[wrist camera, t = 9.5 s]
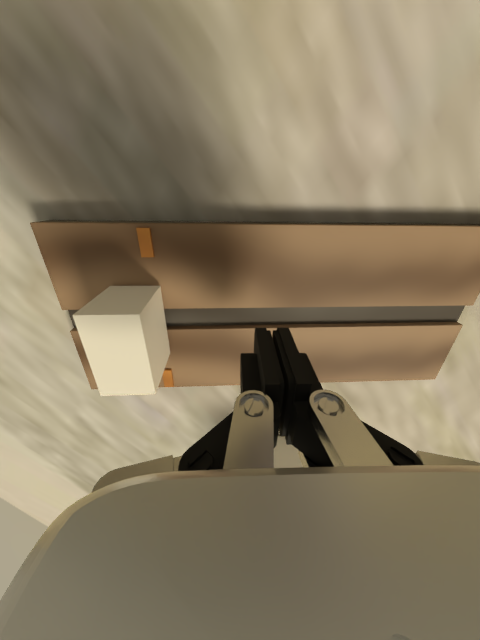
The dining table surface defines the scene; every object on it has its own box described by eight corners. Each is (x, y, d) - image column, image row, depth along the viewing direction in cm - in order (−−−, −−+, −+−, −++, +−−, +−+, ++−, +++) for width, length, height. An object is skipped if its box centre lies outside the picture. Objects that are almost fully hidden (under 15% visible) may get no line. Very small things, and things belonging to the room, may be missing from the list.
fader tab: (113, 283, 15) (72, 315, 11) (162, 282, 15) (139, 314, 11) (129, 349, 17) (100, 395, 13) (171, 348, 17) (155, 394, 13)
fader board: (48, 220, 14) (27, 223, 13) (488, 224, 16) (516, 227, 14) (100, 376, 20) (90, 391, 18) (421, 367, 21) (436, 380, 20)
